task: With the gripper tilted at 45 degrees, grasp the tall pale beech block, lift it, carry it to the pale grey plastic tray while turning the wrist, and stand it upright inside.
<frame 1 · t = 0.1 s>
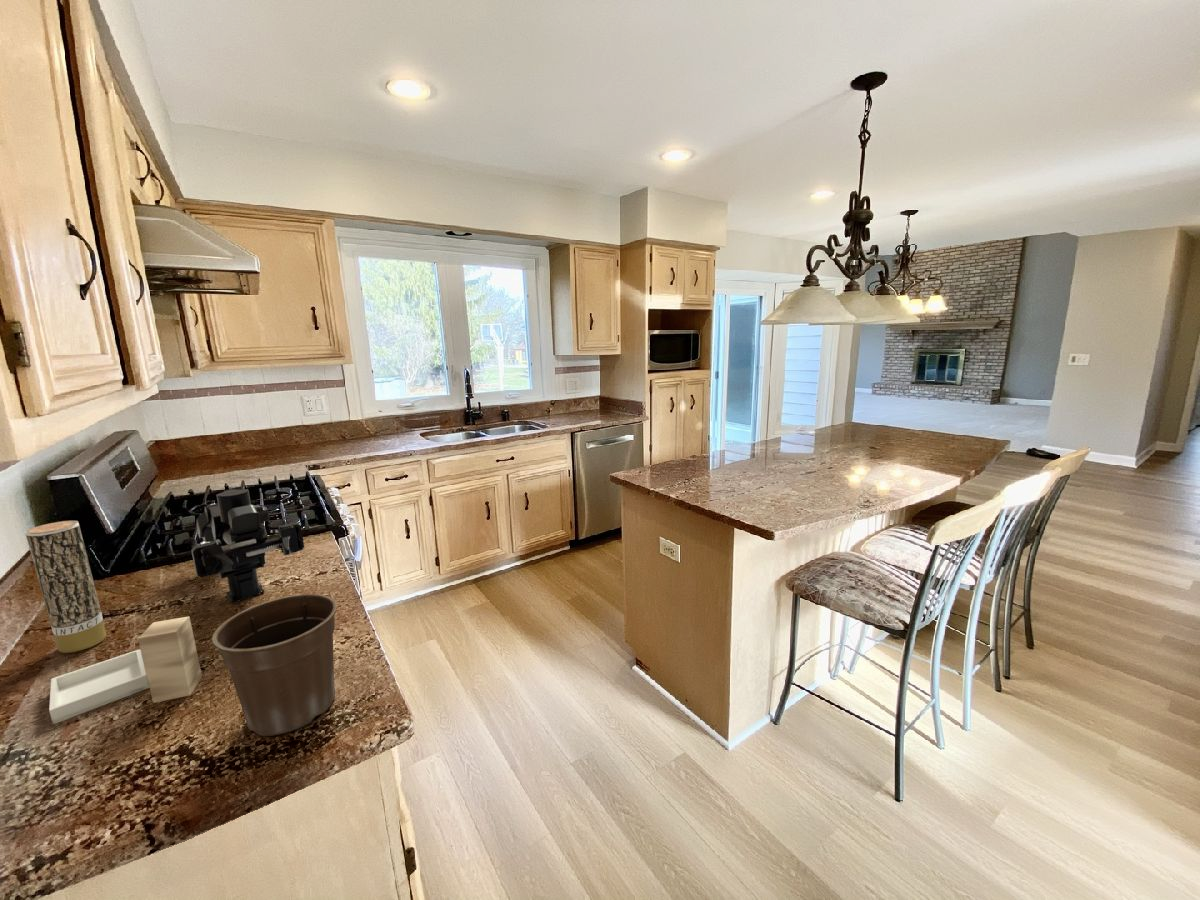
hand: (261, 559, 95), 17 cm above the worktop, tool horizontal, fingers open, 9 cm apart
plant pot: (293, 709, 78), on the worktop
bark-printed cylinder: (83, 645, 97), on the worktop
tray: (102, 689, 83), on the worktop
beech block: (178, 689, 83), on the worktop
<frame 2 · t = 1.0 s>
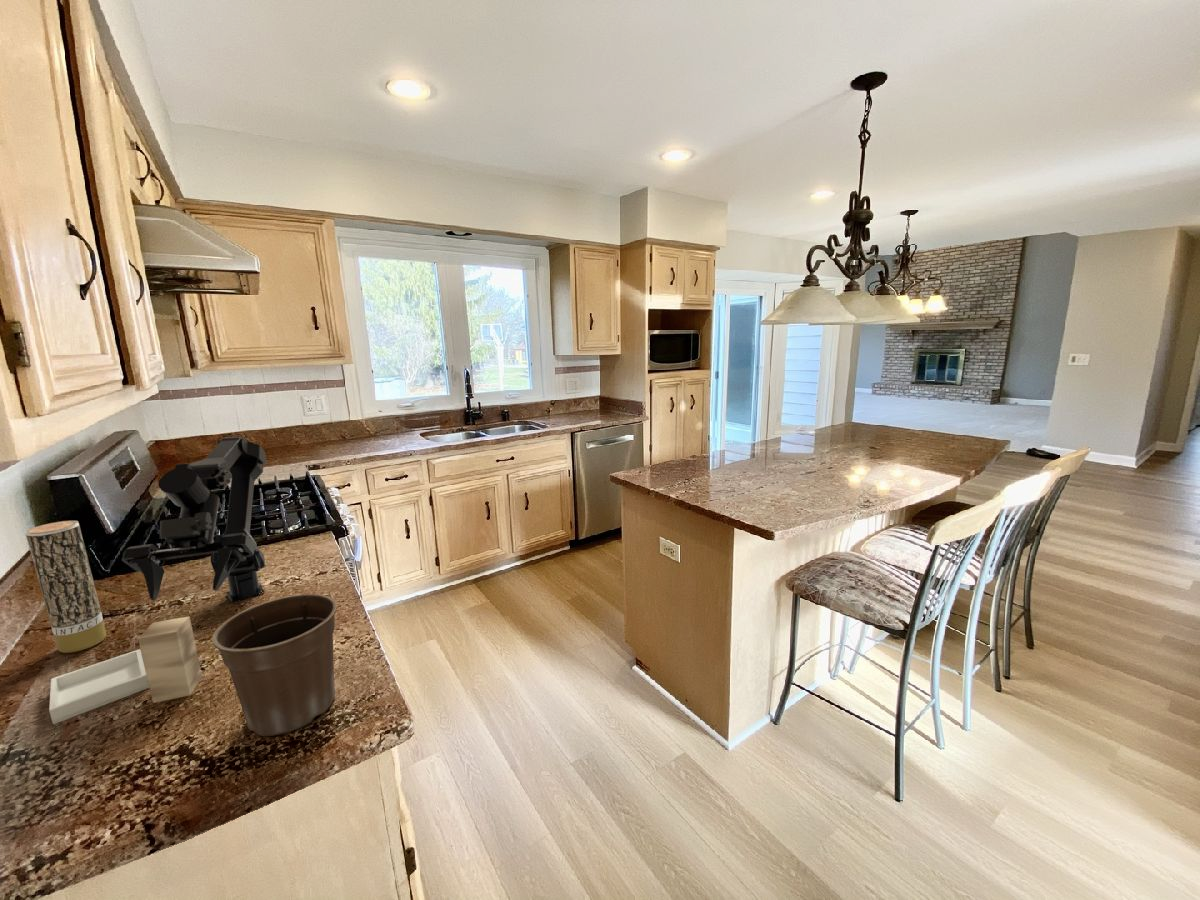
hand: (184, 594, 88), 14 cm above the worktop, tool tilted 45°, fingers open, 9 cm apart
nothing on the worktop moved.
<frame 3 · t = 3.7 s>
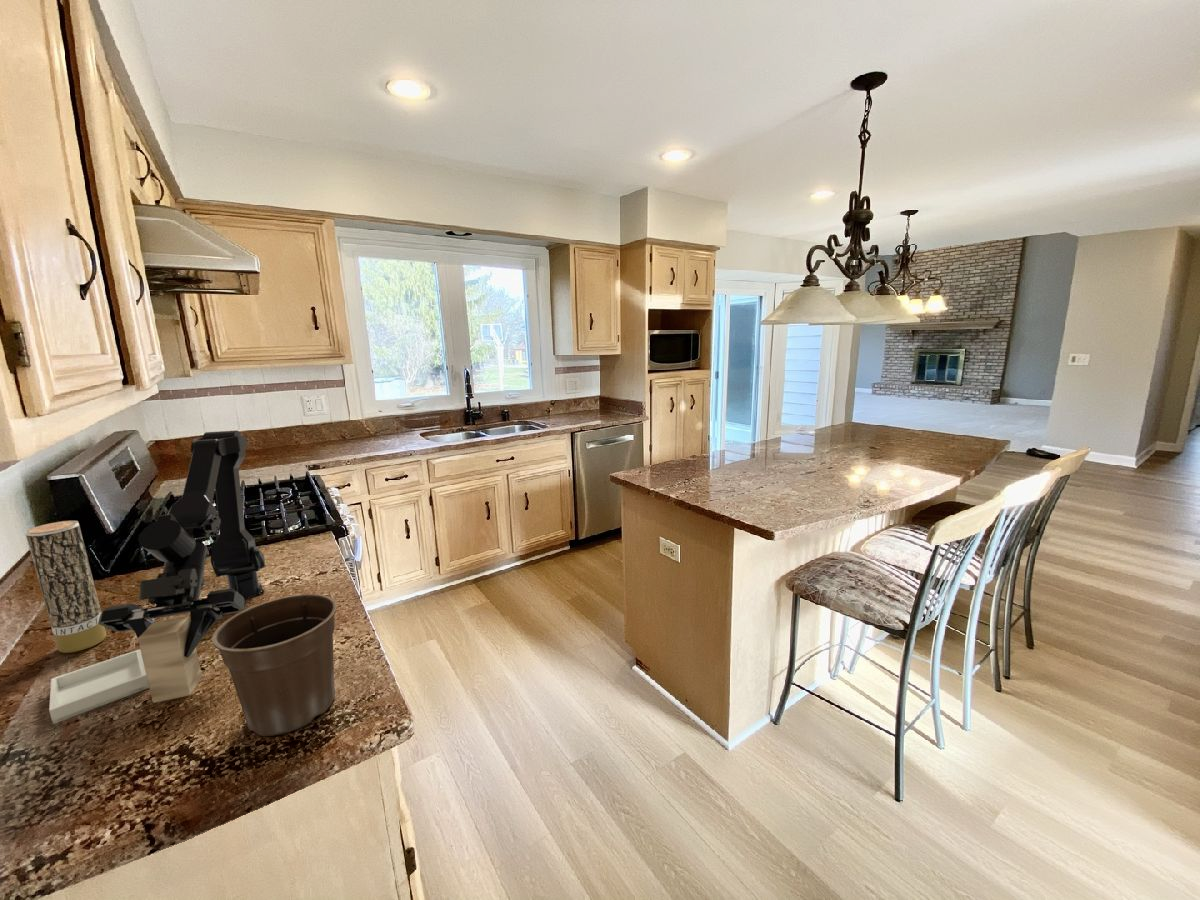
hand: (167, 660, 80), 7 cm above the worktop, tool tilted 45°, fingers closed on beech block, 5 cm apart
beech block: (178, 689, 83), on the worktop, touching gripper
everything else where it was.
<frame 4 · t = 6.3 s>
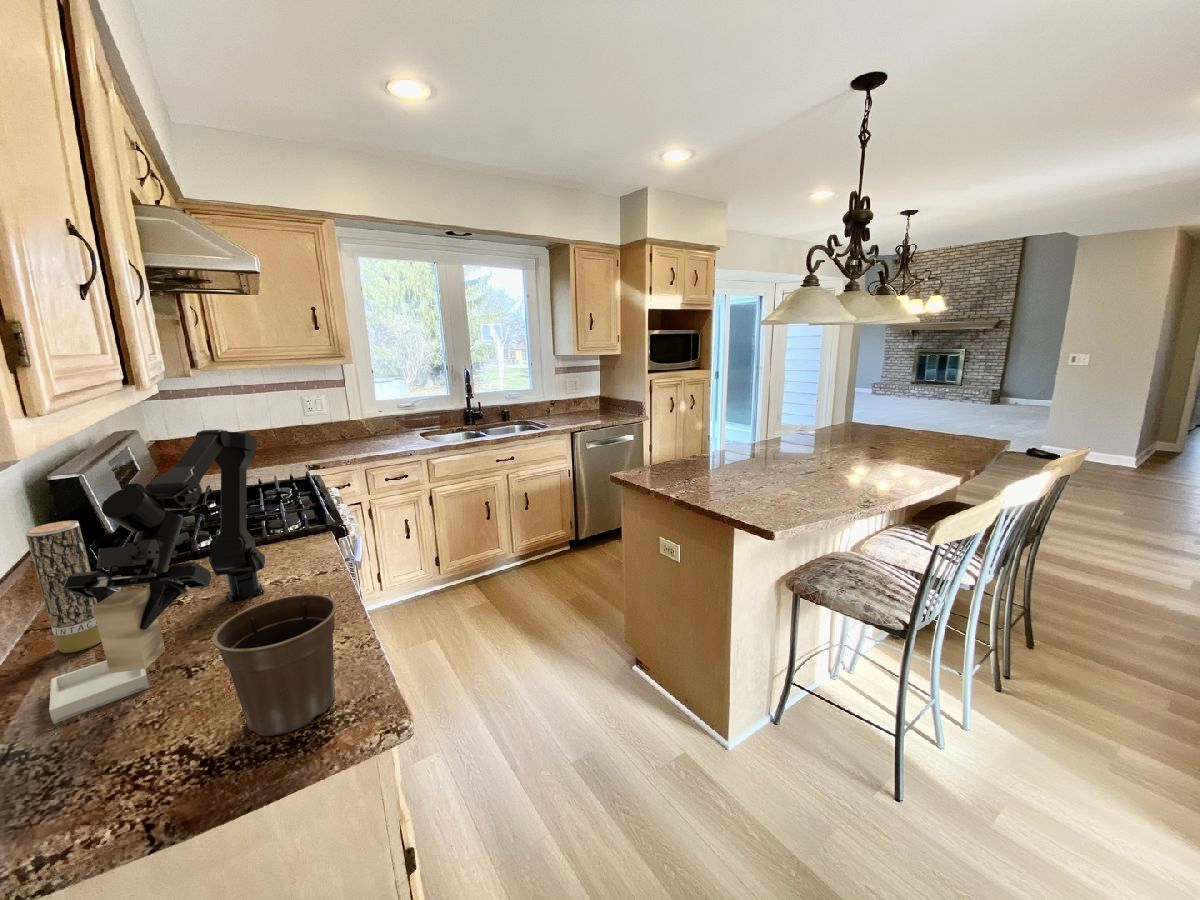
hand: (123, 631, 79), 12 cm above the worktop, tool tilted 45°, fingers closed on beech block, 5 cm apart
beech block: (138, 661, 81), point 6 cm above the worktop, touching gripper
everything else where it was.
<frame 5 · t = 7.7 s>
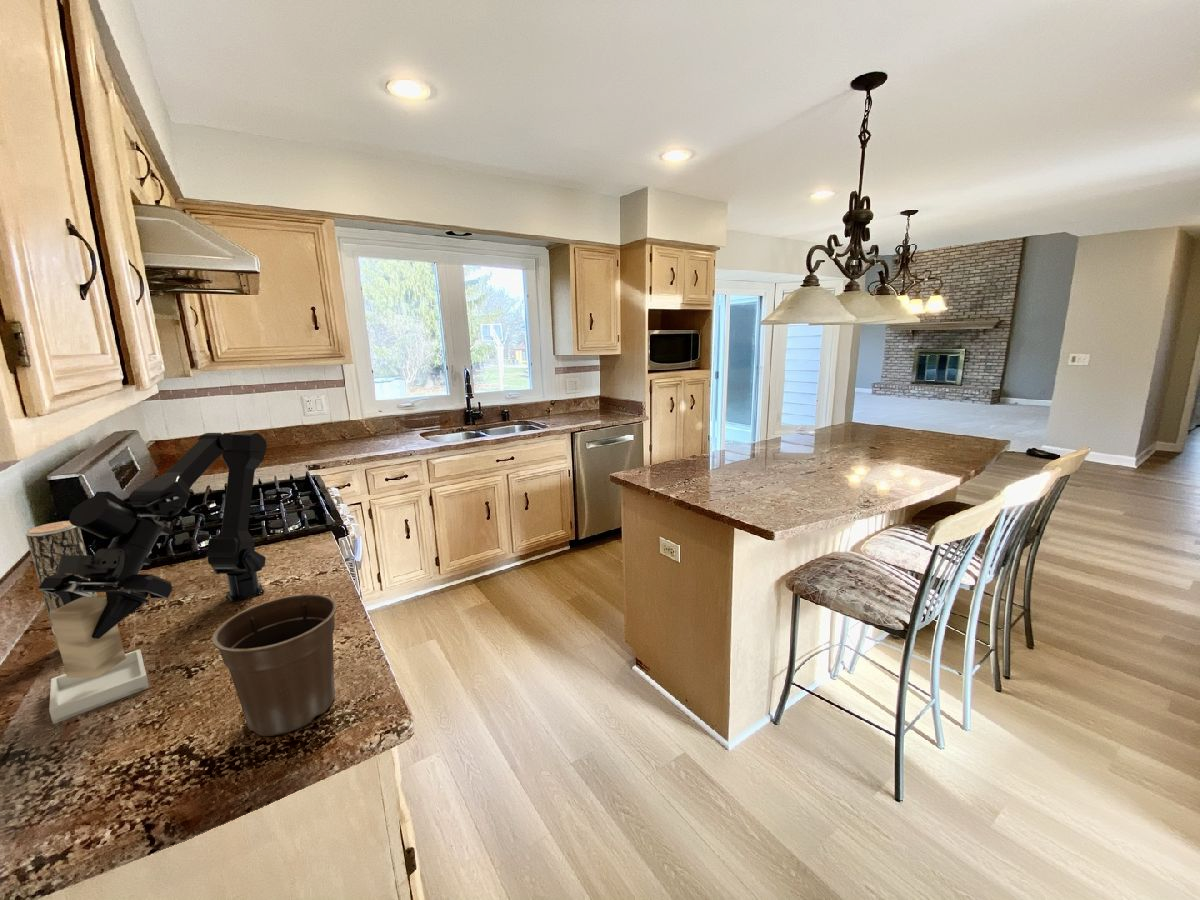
hand: (79, 638, 80), 11 cm above the worktop, tool tilted 45°, fingers closed on beech block, 5 cm apart
beech block: (97, 667, 83), point 4 cm above the worktop, touching gripper
everything else where it was.
when the fingers open (8 cm above the worktop, at t = 8.6 s): beech block stays where it is, resting on tray.
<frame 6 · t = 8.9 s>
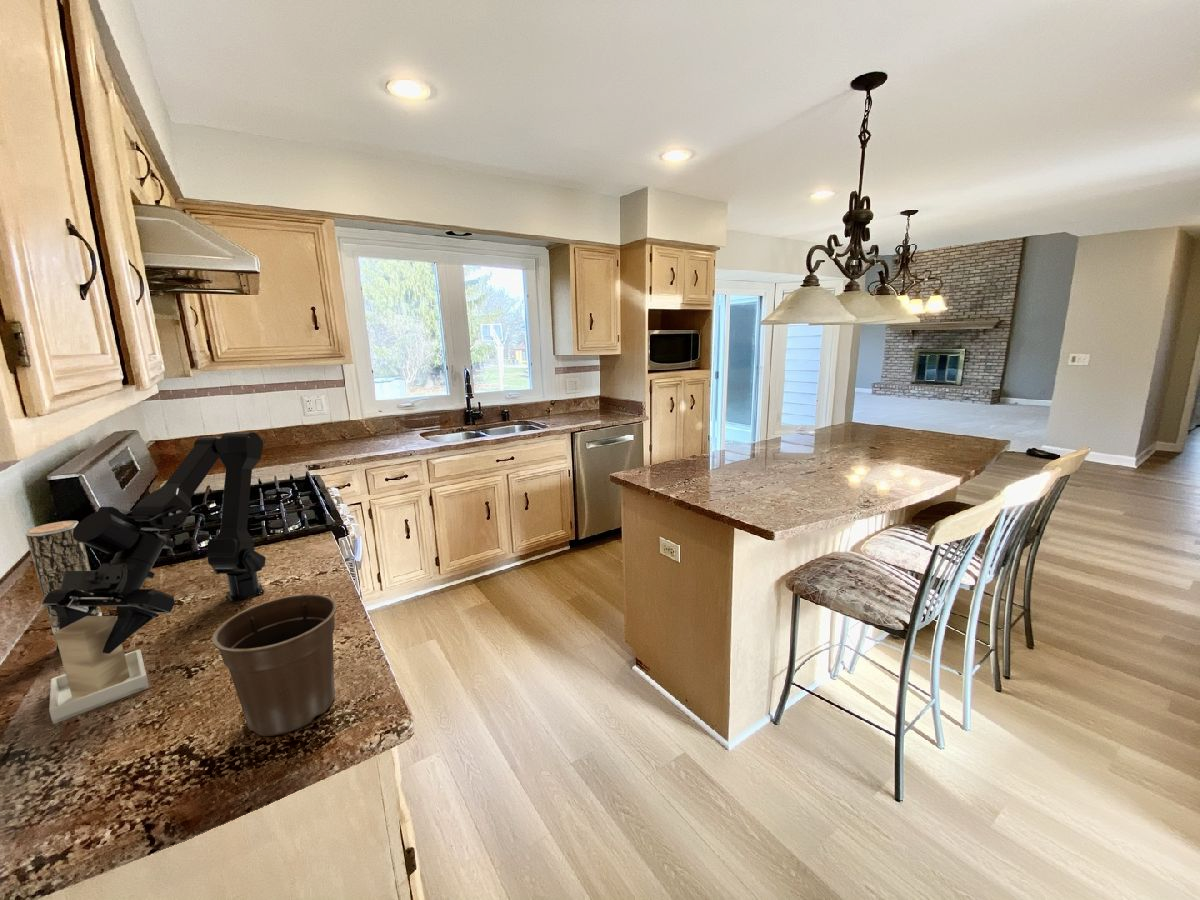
hand: (82, 653, 80), 8 cm above the worktop, tool tilted 45°, fingers open, 8 cm apart
beech block: (101, 686, 83), point 1 cm above the worktop, touching tray
everything else where it was.
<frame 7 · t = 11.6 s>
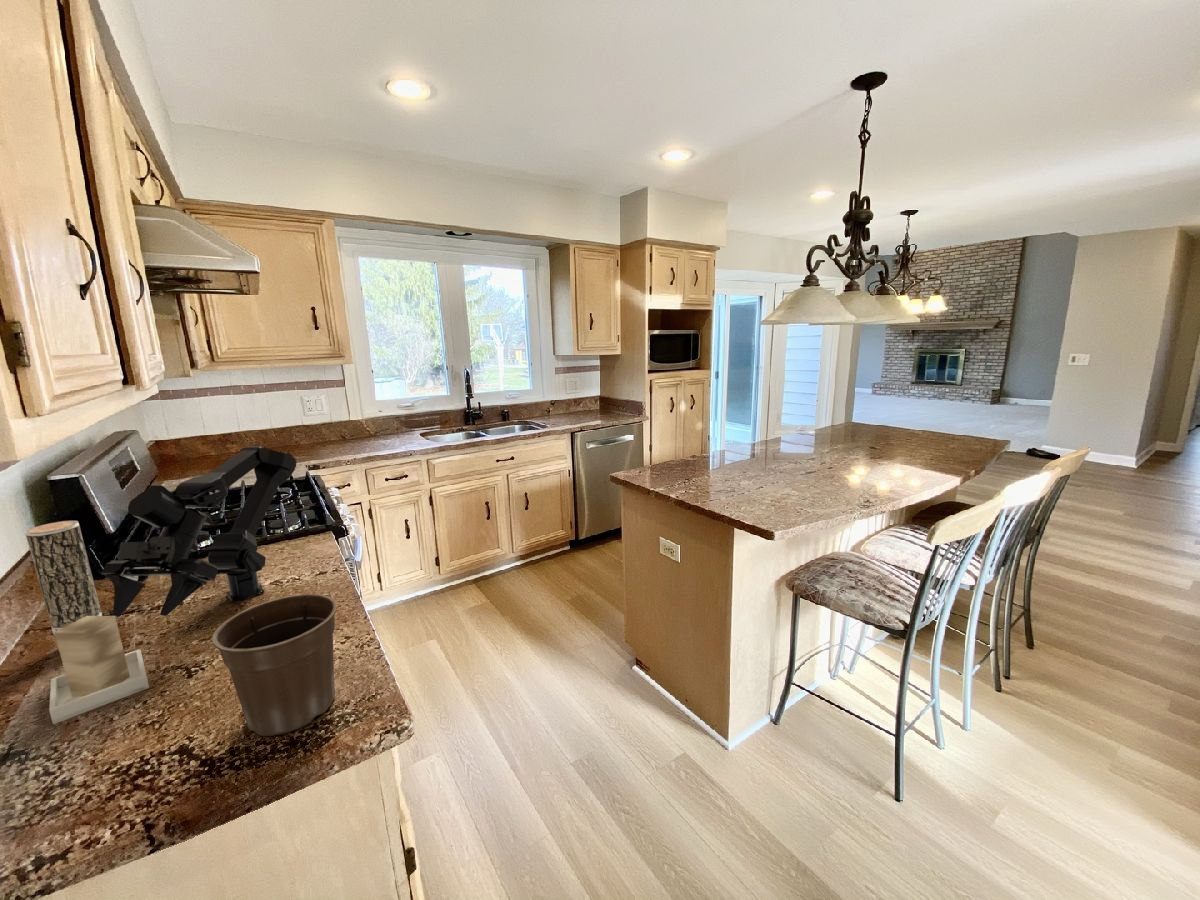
hand: (139, 615, 90), 9 cm above the worktop, tool tilted 45°, fingers open, 9 cm apart
nothing on the worktop moved.
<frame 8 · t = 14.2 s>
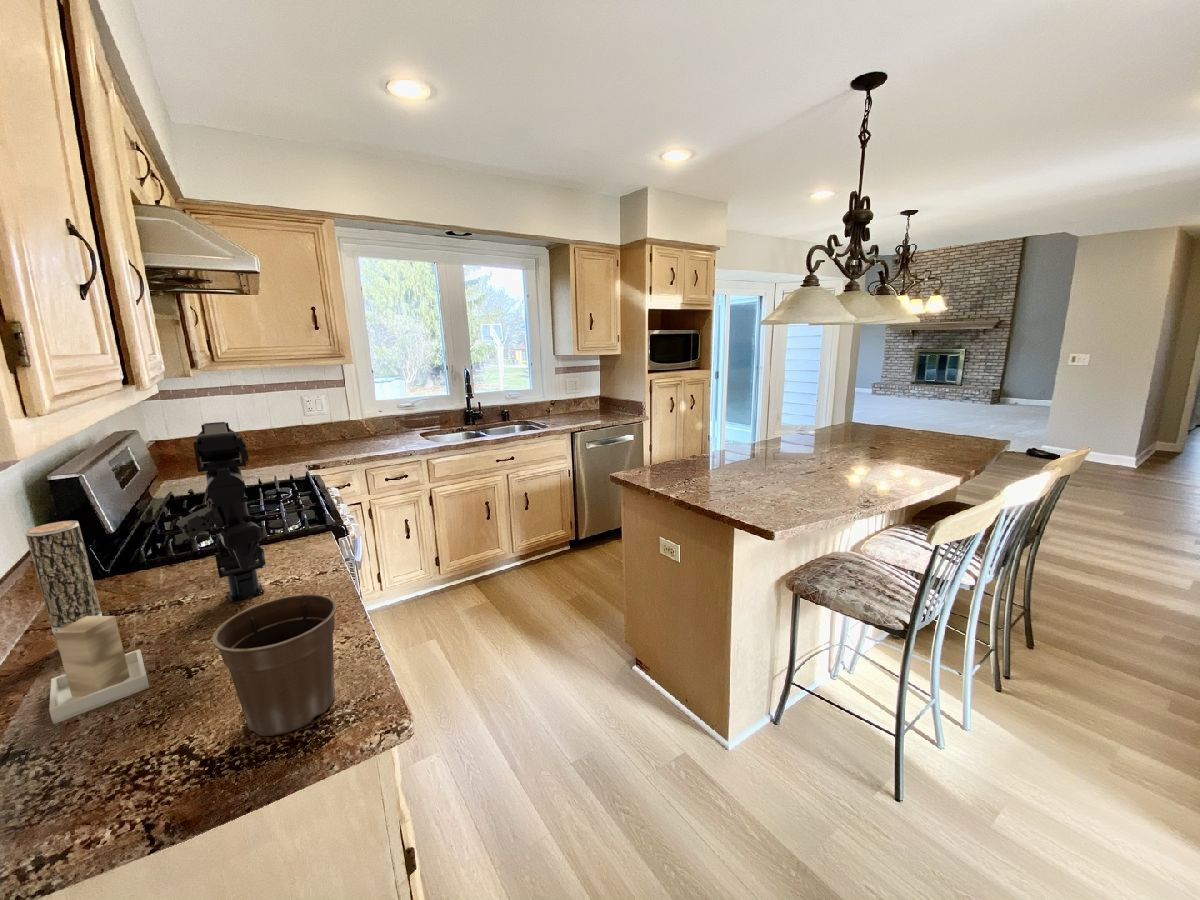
hand: (239, 563, 102), 13 cm above the worktop, tool pointing down, fingers open, 9 cm apart
nothing on the worktop moved.
at the end: beech block 0.0 cm off-centre on the tray, point 0.6 cm above the tray's base; beech block tilted 0°; the gripper is holding nothing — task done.
